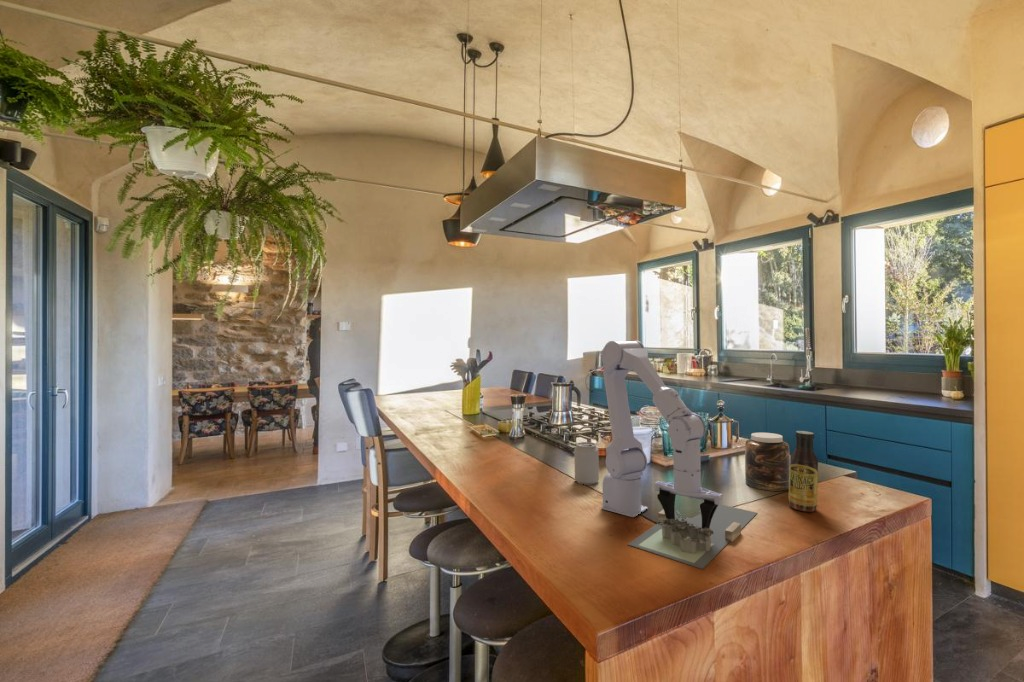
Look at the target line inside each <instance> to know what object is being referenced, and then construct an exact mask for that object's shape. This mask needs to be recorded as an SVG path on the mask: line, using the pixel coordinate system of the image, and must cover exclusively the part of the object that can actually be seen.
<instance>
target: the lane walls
mask: <svg viewBox="0 0 1024 682" xmlns="http://www.w3.org/2000/svg"><path fill="white" fill-rule="evenodd" d="M674 511H676V509H674ZM660 519H663V520H666V515H665V512H664V509H663V508H662V509H661V510H660V511H659V512H657V520H658V521H660ZM658 521H657V522H658ZM741 534H742V530H741V523H736V522H733V523H732V524H731V525H730V526H729V527H728V528H727V529H726V530H725V539H726V540H730V542H729V543H733V542H734V541H735V540H737V538H738V537H739V536H740V535H741Z"/></svg>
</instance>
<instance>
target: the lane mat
mask: <svg viewBox="0 0 1024 682" xmlns="http://www.w3.org/2000/svg"><path fill="white" fill-rule="evenodd" d="M675 511H676V512H677V513H678V514H680V512H679V511H678V509H675ZM699 512H700V511H699ZM680 515H681V514H680ZM756 515H758V512H757V511H756V512H755V511H752V510H747V509H742V508H738V507H734V506H731V505H730V506H728V505H725V504H722V503H721V504H720V505H718V507H717V508H716V510H715V512H714V515H713V517H712V520H711V523H710V528H709V529H711V531H713V533H714V534H712V535H711V536H710V538H711V545H710V551H704V550H696V553H690V552H685V551H682V550H681V546H680V545H674V544H672V543H671V539H670V538H664V537H663V536H662V526H663V524H658V523H659V522H657V523H656V524H655V525H653V526H652V527H650V528H648V529H647V530H646V531H644V532H643V533H642V534H640V535H638V536H637V537H636V538H634V539H633V540H632V541H630V542H629V543H627V546H630V547H633V548H636V549H639V550H642V551H645V552H648V553H651V554H655V555H657V556H661V557H664V558H666V559H669V560H673V561H676V562H679V563H682V564H685V565H688V566H691V567H694V568H698V569H700V570H704V569H705V568H706V567H707V566H708V564H710V563H711V562H712V561H713V559H714V558H715V557H717V556H718V555H719V553H720V552H722V550H724V548H725V547H727V546H728V545H729V543H731V542H730V540H726V539H725V530H726V529H727V528H728V527H729V526H730V525H731V524H732V523H733V522H736V523H741V531H742V530H743V529H744V528H745V527H746V526H747V525H748V524H749V523H750V522H751V521H752V520H753V519H754V517H756ZM681 517H682V516H681ZM681 517H680V518H678V516H677V515H676V513H675V519H676V518H678V520H679V521H681V520H682V518H681ZM683 519H684V518H683ZM684 520H686V521H687V523H691V524H694V525H697V526H698V527H702V516H701V514H699V515H697V516H695V517H693V518H688V517H687V518H686V519H684Z"/></svg>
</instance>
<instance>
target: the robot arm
mask: <svg viewBox="0 0 1024 682" xmlns="http://www.w3.org/2000/svg"><path fill="white" fill-rule="evenodd" d="M600 354H601V361H602V366H603V371H602V373H603V381H604V387H605V395H606V401H607V407H608V408H607V409H608V414H609V416H608V417H609V421H610V429H611V435H612V440H611V441H610V442H609V444H608V445H606V447H605V453H606V455H605V468H606V470H607V473H606V474H605V475H604V477H603V479H602V488H601V489H602V506H601V507H600V508H601V509H602V510H605V511H607V512H608V511H609V512H613V513H616V514H620V515H621V516H622V515H623V516H626V517H630V518H635V517H636V516H639V515H641V514H642V513H643V512H645V511H646V509H647V510H648V506H646V505H643V504H642V479H641V478H642V476H644V475H643V473H644V471H646V469H647V467H648V458H647V456H646V453H645V451H644V449H643V444H642V442H641V441H639V440H638V439H637V438H636V437H635V434H634V428H633V423H632V422H633V421H632V416H631V409H630V403H629V397H628V396H629V395H628V389H627V384H626V377H627V376H628V375H629V373H630V372H631V371H633V372H635V373H636V375H637V376H638V377H639V379H640V380H641V381H642V382H643V383H644V386H646V387H647V388H648V390H650V392H651V393H652V394H653V396H652V403H653V405H654V406H655V407H656V409H657V410H658V412H659V414H660V415H661V416H662V418H663V419H664V421H665V422H666V424H667V425H668V426H667V427H666V431H667V435H668V436H669V438H670V441H671V447H672V450H673V451H672V452H673V454H672V455H673V458H672V459H673V482H671V481H661V480H657V481H655V483H654V490H655V491H656V492H658V493H657V499H658V501H659V503H660V505H661V506H662V510H663V509H664V512H665V515H666V519H667V518H668V519H675V511H676V510H675V505H676V503H675V502H676V496H678V495H679V496H682V497H686V498H690V499H699V500H703V501H704V502H702V503H701V504H700V510H701V516H702V528H703V529H704V528H705V527H706V528H708V529H709V528H710V523H711V520H712V517H713V515H714V512H715V510H716V508H717V507H718V505H720V504H721V505H722V504H723V493H719V492H716V491H713V490H710V489H707V488H705V487H702V481H701V479H702V475H701V474H702V472H701V469H702V468H701V438H703V437H704V436H705V434H706V423H705V421H704V420H703V417H702V416H701V415H699V414H697V413H695V412H693V411H692V410H691V409H690V408H689V407H687V405H686V404H685V402H684V401H683V400H682V398H681V396H680V393H679V392H678V390H676V389H675V388H672V387H667V386H666V384H665V383H664V381H663V380H662V378H661V377H660V374H659V373H658V372H657V370H656V369H655V367H654V365H653V363H652V362H651V360H650V359H649V351H648V350H647V349H646V348H645V346H644V344H643V343H642V341H640V340H632V341H631V340H629V341H628V340H626V341H625V340H623V341H620V340H619V341H618V340H611V341H608V342H606V344H605V346H604V347H603V349H602V350H601V353H600ZM674 510H675V511H674ZM641 512H642V513H641ZM638 514H639V515H638Z"/></svg>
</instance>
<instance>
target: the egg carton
mask: <svg viewBox="0 0 1024 682" xmlns="http://www.w3.org/2000/svg"><path fill="white" fill-rule="evenodd" d="M660 521H661V523H662V524H663V526H662V536H663V537H664V538H670V539H671V543H672V544H674V545H680V546H681V550H682V551H685V552H690V553H696V550H704V551H710V545H711V538H710V536H711V535H712V534H714V533H713V531H711V529H708V528H706V527H705V528H704V529H703V528H702V527H698V526H697V525H694V524H691V523H687V521H686V520H684V519H682V520H681V521H679V520H678V518H676V519H668V518H667V519H666V520H663V519H660Z"/></svg>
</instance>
